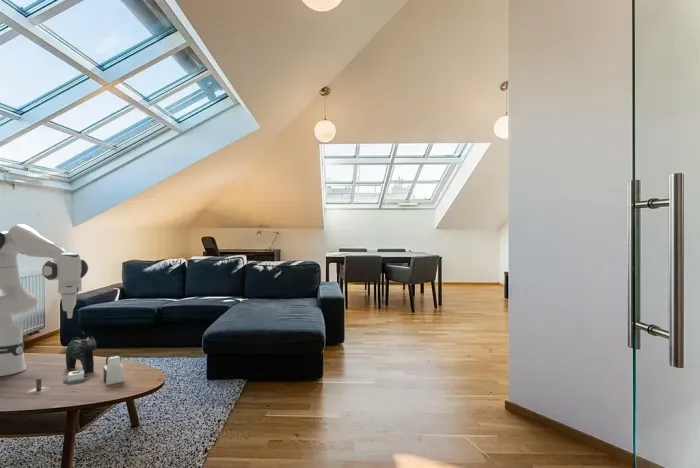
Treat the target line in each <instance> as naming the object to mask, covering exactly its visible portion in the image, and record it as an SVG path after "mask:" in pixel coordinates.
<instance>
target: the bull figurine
mask: <svg viewBox="0 0 700 468" xmlns="http://www.w3.org/2000/svg"><path fill="white" fill-rule="evenodd" d="M81 334H84V335H83V336H84V337H83V338H82V339H81V338H79V337H77V336H76V337H72V339H71V340H70V342H69V343H68V344H67V347H66V351H65V352H66V353H65V364H66V365H65V366H66V369H67V370H73V368H74V369H75V368H76V366H77V364H76V363H77V360H78V361H79V362H80V363H81V365H82V370H84V374H90V373H93V372H94V366H95V365H94V364H95V361H94V353H93V351H94V350H96V349H97V341H96V340H95V338H94V336H93V335H92V336H91V337H89V336H87V337H86V335H85V334H86V333H85V331H81V332H80V335H81ZM74 339H75V340H74Z"/></svg>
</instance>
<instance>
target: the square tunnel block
mask: <svg viewBox="0 0 700 468" xmlns="http://www.w3.org/2000/svg"><path fill="white" fill-rule="evenodd" d="M75 373H76V374H75ZM84 375H85V373H84V370H83V369H79V370H73V371H69V372H68V375H67V378H68V382H72V381H78V380H84Z"/></svg>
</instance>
